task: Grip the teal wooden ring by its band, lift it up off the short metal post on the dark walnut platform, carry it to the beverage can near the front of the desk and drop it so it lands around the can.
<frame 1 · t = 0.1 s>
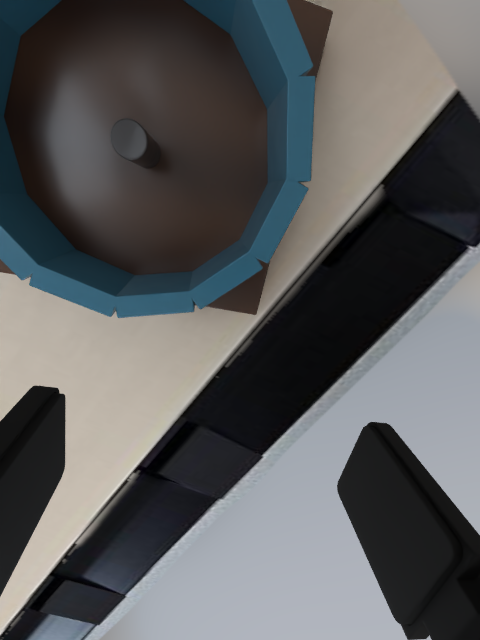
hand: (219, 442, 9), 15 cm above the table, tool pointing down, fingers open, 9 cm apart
ring: (146, 152, 17), point 2 cm above the table, touching platform
platform: (153, 157, 19), on the table
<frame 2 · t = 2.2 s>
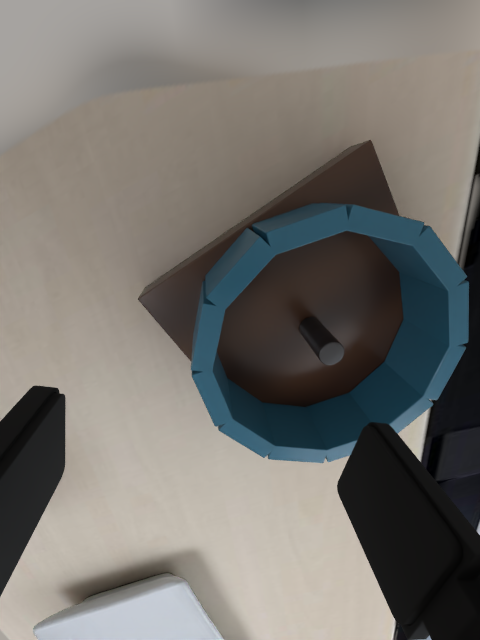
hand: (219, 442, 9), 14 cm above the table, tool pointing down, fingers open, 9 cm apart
tray: (165, 631, 40), on the table
ring: (309, 327, 21), point 2 cm above the table, touching platform
platform: (299, 314, 24), on the table
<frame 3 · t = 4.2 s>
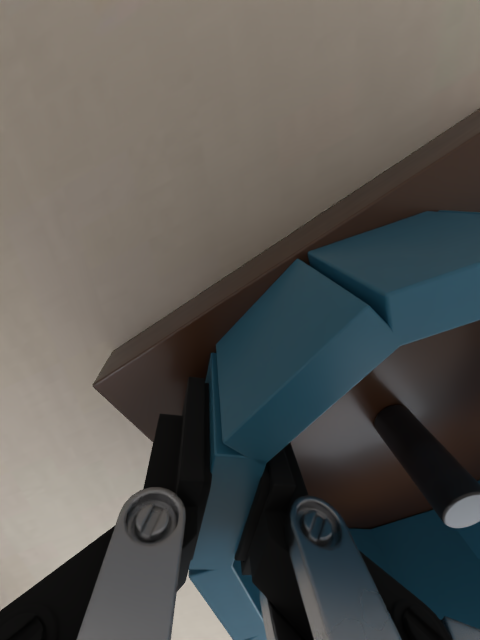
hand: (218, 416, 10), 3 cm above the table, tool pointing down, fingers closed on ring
ring: (391, 419, 12), point 3 cm above the table, touching gripper
platform: (362, 385, 15), on the table
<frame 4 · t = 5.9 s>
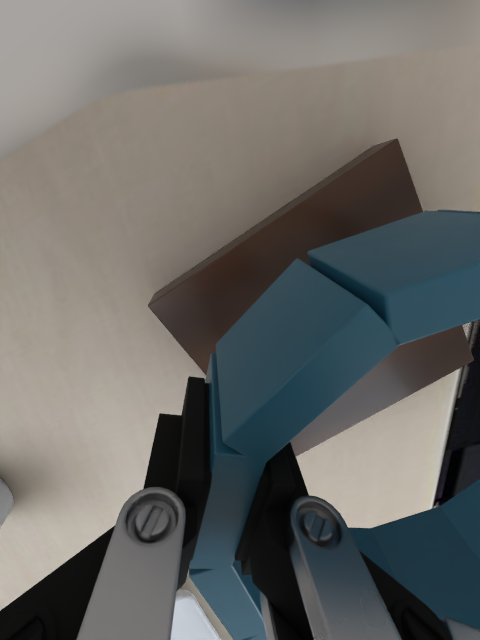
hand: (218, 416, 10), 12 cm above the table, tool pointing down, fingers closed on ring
ring: (391, 419, 13), point 11 cm above the table, touching gripper
platform: (315, 321, 22), on the table
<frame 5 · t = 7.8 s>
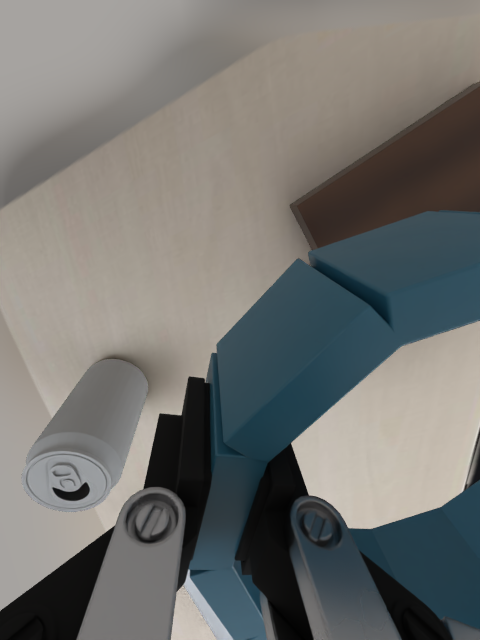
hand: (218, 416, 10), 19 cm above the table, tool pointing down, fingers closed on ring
beverage can: (118, 380, 31), on the table
tray: (244, 549, 44), on the table
ring: (392, 419, 12), point 18 cm above the table, touching gripper
platform: (409, 235, 28), on the table
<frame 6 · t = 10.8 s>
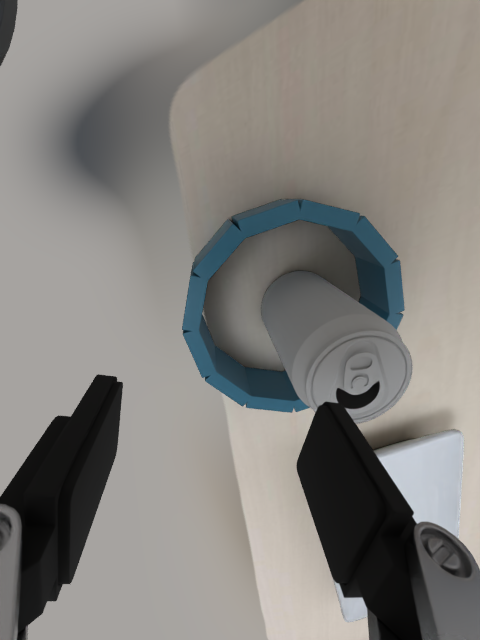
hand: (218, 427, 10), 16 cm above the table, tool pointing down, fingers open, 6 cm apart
beverage can: (294, 303, 26), resting in ring
tray: (379, 515, 39), on the table
ring: (282, 302, 26), on the table
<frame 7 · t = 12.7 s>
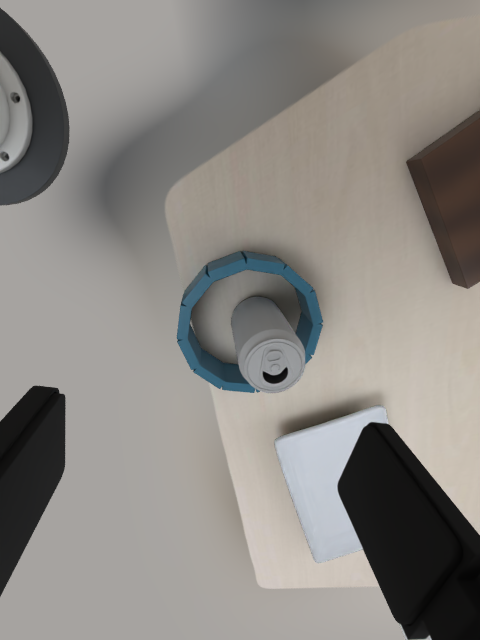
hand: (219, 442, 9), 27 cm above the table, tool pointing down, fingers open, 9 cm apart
beverage can: (255, 317, 38), resting in ring
tray: (337, 476, 50), on the table
ring: (246, 317, 37), on the table
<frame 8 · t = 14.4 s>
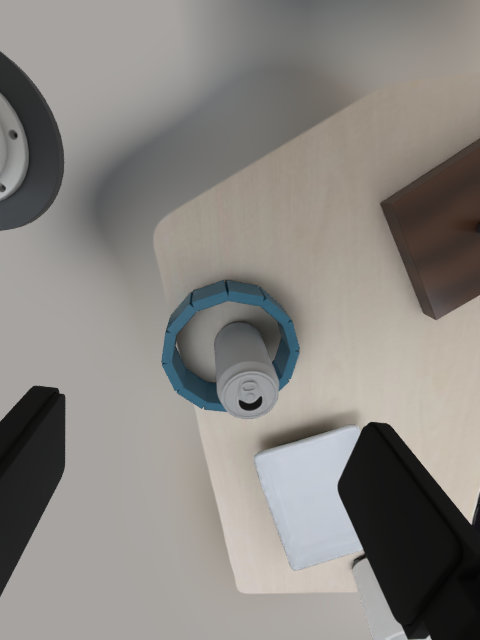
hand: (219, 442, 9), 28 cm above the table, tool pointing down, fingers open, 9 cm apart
beverage can: (237, 341, 40), resting in ring
tray: (314, 488, 53), on the table
ring: (229, 340, 40), on the table
platform: (464, 225, 37), on the table
cup: (366, 561, 64), on the table
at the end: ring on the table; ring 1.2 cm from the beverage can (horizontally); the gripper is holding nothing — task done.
